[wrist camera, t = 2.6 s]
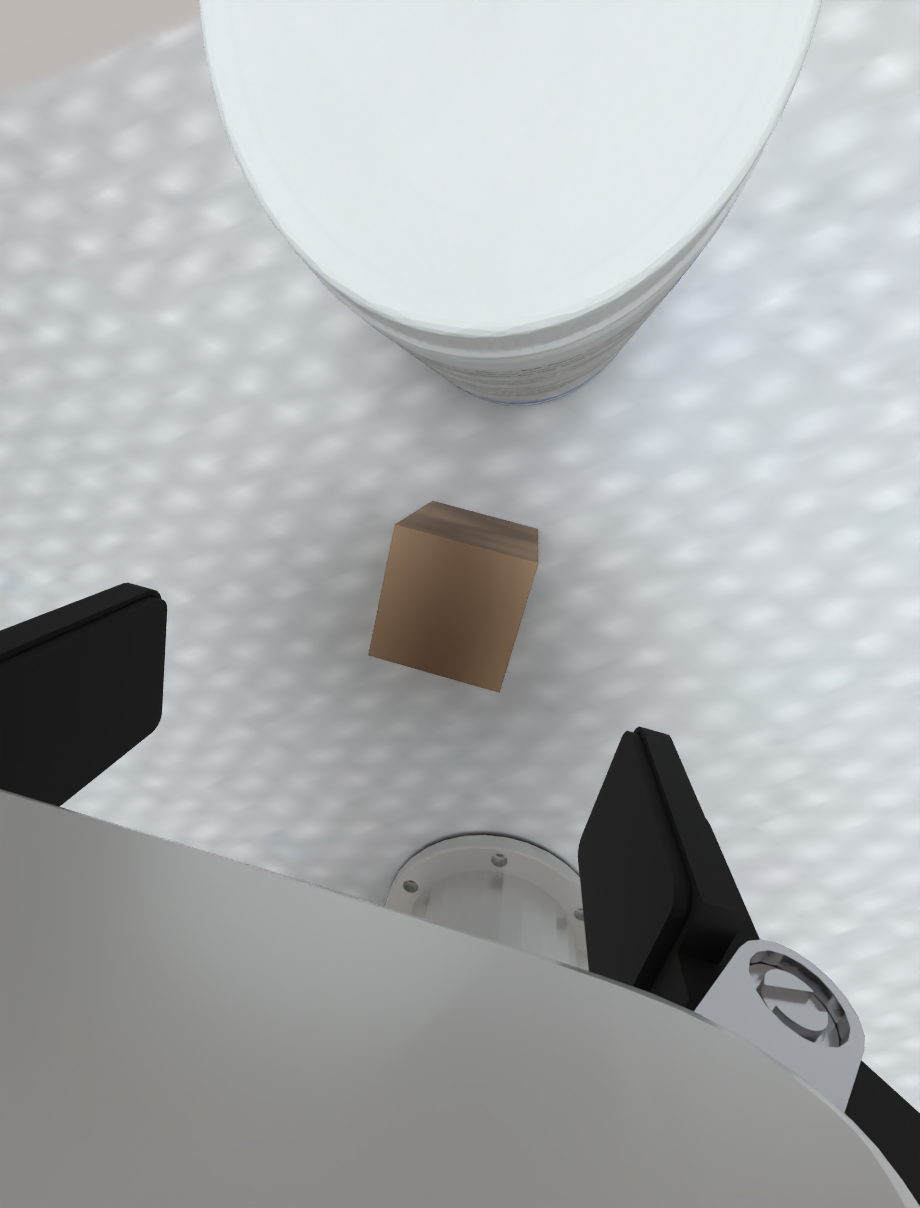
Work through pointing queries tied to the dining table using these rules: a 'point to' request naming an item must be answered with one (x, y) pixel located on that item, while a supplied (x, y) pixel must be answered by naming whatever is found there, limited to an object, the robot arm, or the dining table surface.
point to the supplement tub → (502, 160)
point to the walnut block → (455, 593)
